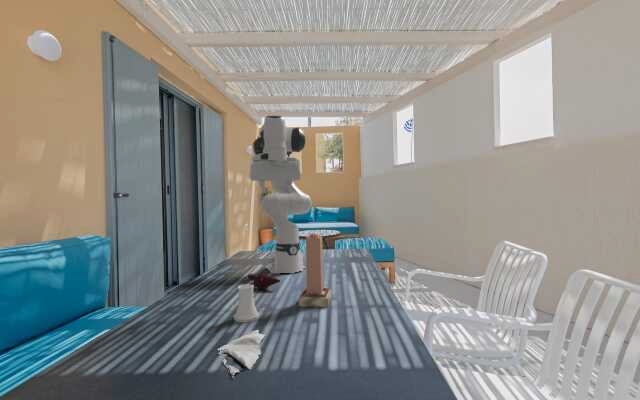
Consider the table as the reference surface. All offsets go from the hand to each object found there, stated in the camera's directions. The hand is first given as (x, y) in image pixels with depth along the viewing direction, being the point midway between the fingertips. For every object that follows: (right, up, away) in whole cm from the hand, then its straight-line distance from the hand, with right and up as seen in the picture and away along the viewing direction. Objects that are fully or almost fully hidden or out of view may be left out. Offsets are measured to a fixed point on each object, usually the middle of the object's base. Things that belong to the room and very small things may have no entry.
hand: (276, 192), depth 133 cm
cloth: (-2, -41, -49) cm, 64 cm away
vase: (-6, -40, -27) cm, 48 cm away
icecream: (-6, -39, +6) cm, 40 cm away
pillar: (+15, -36, -12) cm, 41 cm away
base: (+15, -39, -12) cm, 44 cm away
